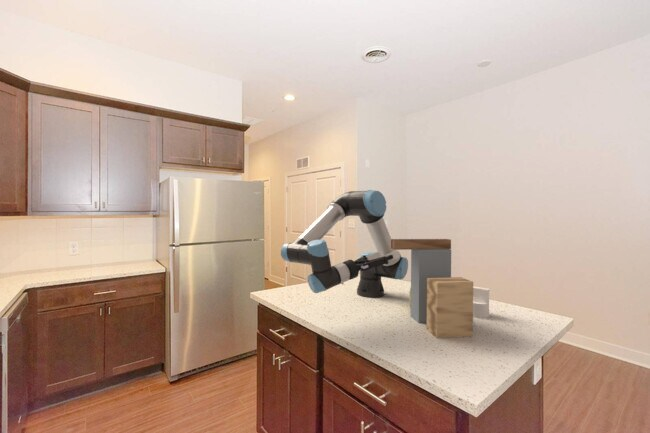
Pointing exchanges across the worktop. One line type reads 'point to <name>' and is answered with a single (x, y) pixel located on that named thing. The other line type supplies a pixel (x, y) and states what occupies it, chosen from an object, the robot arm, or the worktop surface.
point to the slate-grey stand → (424, 267)
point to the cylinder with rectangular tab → (480, 302)
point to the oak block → (450, 307)
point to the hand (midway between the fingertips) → (388, 254)
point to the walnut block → (420, 244)
